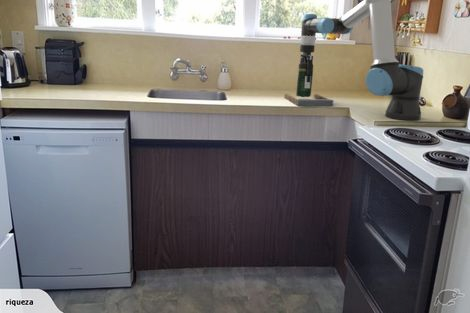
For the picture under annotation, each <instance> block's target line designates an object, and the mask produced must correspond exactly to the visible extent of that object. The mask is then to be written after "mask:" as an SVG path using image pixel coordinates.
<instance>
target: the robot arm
mask: <svg viewBox="0 0 470 313" xmlns="http://www.w3.org/2000/svg"><path fill="white" fill-rule="evenodd" d="M394 1H395V0H362V1H361V2H359V3H358V4H356V5H355V6H354V7H352V8H351V9H350V10H348V11H347V12H345V13H344V14H343V15H342V16H340V17H338V18H330V17H318V15H317V14H316V13H304V14H303V15H302V20H301V31H300V32H301V33H300V34H301V35H300V46H299V52H300V53H301V54H300V61H299V64H300V63H303V62H305V63H307V66H306V75H305V88H310V80H311V75H314V62H313V59H314V55H312V53H315V43H316V40H317V38H316V35H317V34H325V35H326V34H330V35H331V34H332V35H333V34H334V35H335V34H336V35H348V34H350V33H351V32H352V31H353V29H354V26H356V25H357V24H358V23H360V22H362V21H363V20H365V18H368V17H369V18H370V32H371V43H372V55H373V57H372V58H373V62H372V63H371V65H370V70H369V71H368V72H367V75H366V76H365V83H366V88H367V89H368V91H369V92H370V93H371V94H372V95H374V96H381V97H384V96H385V97H386V96H391V100H390V102H389V104H388V105H387V108H386V110H385V114H384V116H385V117H386V118H389V117H390V119H395V120H401V121H418V120H421V119H422V112H421V105H420V96H421V92H422V91H421V90H422V86H423V85H422V84H423V79H424V69H423V68H422V67H420V66H415V65H407V64H400V61H399V60H397V59H396V56H395V44H394V41H395V40H394V30H393V28H394V27H393V16H392V7H391V6H392V3H393V2H394Z"/></svg>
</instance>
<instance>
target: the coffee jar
mask: <svg viewBox="0 0 470 313" xmlns="http://www.w3.org/2000/svg"><path fill="white" fill-rule="evenodd" d="M306 66H307V63H305V62H303V63H300V62H299V64H298V70H297V83H296V97H300V98H309V97H311V96H312V87H313V86H312V85H313V75H314V74H313V75H311V80H310V88H305V75H306Z"/></svg>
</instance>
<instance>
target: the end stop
mask: <svg viewBox="0 0 470 313" xmlns="http://www.w3.org/2000/svg"><path fill="white" fill-rule="evenodd" d="M296 100H297V103H296V105H295V106H297V107H334V99H329V98H327V99H314V98H312V99H311V98H296Z"/></svg>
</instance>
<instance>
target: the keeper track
mask: <svg viewBox="0 0 470 313" xmlns="http://www.w3.org/2000/svg"><path fill="white" fill-rule="evenodd" d="M283 97H284V99H286V100H287V101H289V102H290V103H292V104H294V105H295V106H297V105H296V103H297V100H296V99H297V98H296V97H294V96H292V95H291V94H289V93H287V92H285V93H284V94H283ZM312 99H328V98H326V97H324V96H322V95H320V94H318V93H313V96H312Z"/></svg>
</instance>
